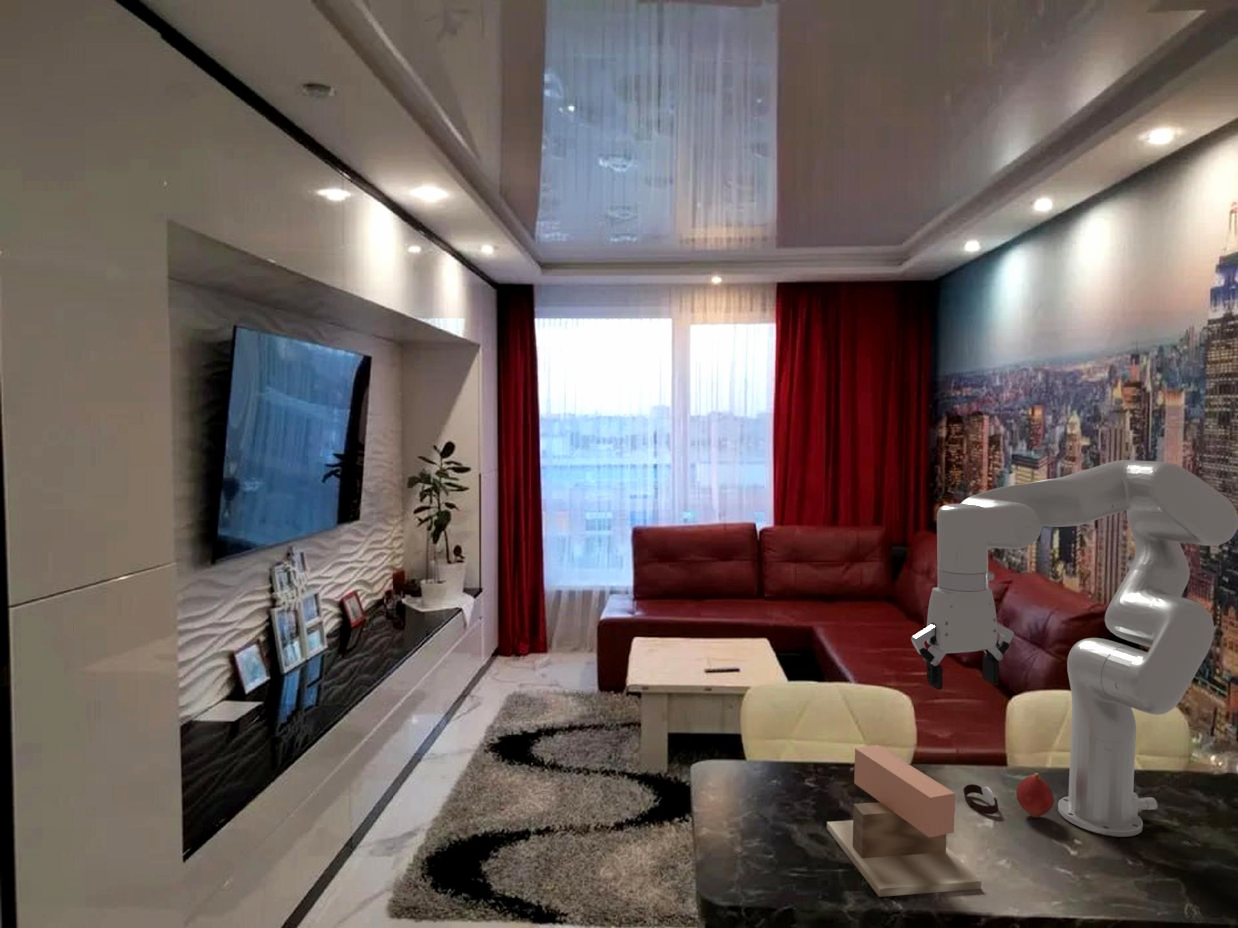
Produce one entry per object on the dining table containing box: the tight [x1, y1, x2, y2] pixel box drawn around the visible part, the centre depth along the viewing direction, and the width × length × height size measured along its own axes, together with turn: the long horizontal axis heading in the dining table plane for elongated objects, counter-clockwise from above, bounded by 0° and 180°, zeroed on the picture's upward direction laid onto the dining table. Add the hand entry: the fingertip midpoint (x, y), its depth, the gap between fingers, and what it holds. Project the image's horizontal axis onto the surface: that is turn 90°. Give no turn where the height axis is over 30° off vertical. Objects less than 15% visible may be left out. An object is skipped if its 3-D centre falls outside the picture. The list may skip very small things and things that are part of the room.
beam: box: [853, 744, 956, 837], centre depth 122 cm, size 4×18×6 cm, turn 19°
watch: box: [962, 784, 999, 815], centre depth 140 cm, size 8×5×4 cm, turn 9°
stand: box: [826, 801, 982, 898], centre depth 123 cm, size 16×19×8 cm
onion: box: [1015, 772, 1055, 819], centre depth 136 cm, size 6×6×8 cm
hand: (962, 684), depth 126 cm, fingers open, 9 cm apart
